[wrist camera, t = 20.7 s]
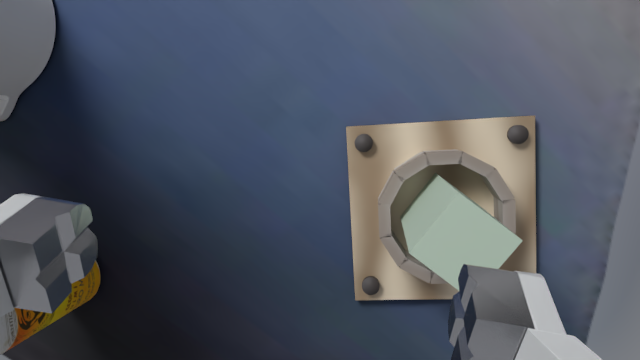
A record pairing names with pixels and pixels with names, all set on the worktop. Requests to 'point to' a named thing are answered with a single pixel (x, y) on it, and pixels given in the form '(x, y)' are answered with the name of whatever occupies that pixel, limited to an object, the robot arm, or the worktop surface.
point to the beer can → (25, 323)
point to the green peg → (454, 232)
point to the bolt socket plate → (410, 178)
